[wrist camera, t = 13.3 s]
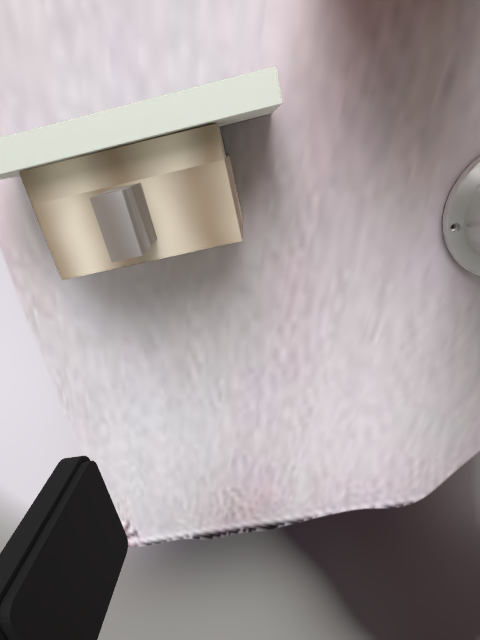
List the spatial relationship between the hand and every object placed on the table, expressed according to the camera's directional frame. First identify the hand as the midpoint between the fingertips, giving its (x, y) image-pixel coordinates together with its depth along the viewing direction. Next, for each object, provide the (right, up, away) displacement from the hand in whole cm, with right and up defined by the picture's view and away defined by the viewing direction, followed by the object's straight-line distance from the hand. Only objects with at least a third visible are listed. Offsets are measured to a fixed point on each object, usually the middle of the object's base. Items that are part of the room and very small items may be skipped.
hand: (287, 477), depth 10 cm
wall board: (-10, +20, +28) cm, 35 cm away
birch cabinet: (-9, +16, +29) cm, 34 cm away
